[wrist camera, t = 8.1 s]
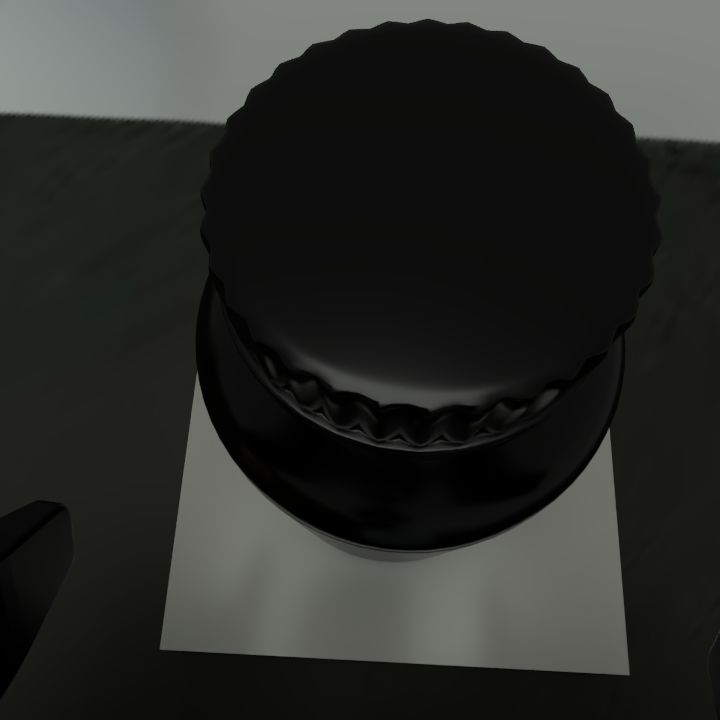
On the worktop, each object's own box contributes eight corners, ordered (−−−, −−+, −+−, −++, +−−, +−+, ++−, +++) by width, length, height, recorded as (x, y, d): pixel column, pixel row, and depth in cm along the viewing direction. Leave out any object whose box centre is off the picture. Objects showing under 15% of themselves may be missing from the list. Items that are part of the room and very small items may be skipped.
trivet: (614, 669, 16) (629, 675, 16) (172, 644, 17) (159, 649, 16) (584, 264, 20) (594, 250, 19) (222, 253, 21) (215, 238, 20)
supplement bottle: (535, 545, 17) (889, 505, 5) (282, 576, 16) (75, 604, 5) (489, 311, 19) (666, -82, 7) (265, 337, 19) (93, -21, 7)
